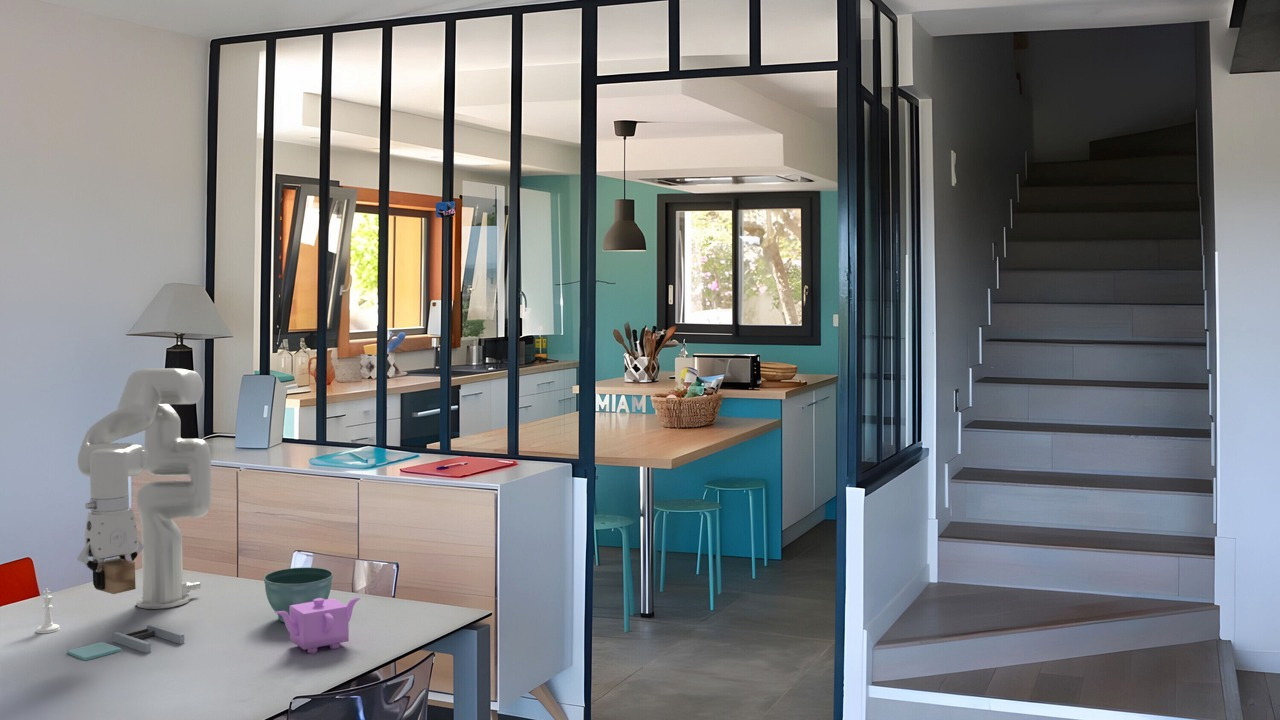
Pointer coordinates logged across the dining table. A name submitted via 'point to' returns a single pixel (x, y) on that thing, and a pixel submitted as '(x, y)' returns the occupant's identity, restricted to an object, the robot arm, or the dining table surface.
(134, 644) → the grey twin-rail rack
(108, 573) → the walnut block
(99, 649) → the pad
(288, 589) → the green bowl
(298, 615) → the teapot
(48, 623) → the chess piece
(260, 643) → the dining table surface
